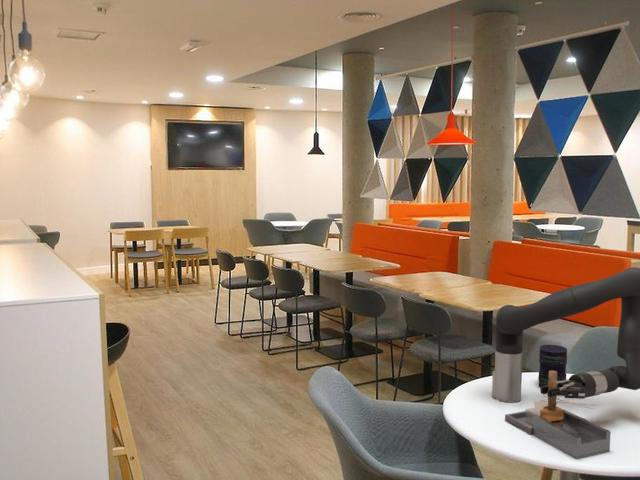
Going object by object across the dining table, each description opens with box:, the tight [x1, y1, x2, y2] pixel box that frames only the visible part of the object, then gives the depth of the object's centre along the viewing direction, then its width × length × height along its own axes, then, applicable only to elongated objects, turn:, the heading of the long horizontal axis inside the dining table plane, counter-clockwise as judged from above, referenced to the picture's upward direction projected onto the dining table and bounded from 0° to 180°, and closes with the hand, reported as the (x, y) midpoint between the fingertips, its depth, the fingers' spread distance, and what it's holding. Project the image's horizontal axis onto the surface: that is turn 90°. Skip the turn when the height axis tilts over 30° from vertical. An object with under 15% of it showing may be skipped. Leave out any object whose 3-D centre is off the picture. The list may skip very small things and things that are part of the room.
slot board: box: [532, 409, 612, 460], centre depth 187 cm, size 18×12×6 cm
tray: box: [504, 410, 533, 435], centre depth 201 cm, size 12×14×2 cm
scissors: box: [533, 394, 593, 410], centre depth 219 cm, size 11×1×20 cm
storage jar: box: [537, 344, 568, 389], centre depth 234 cm, size 10×10×15 cm
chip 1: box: [525, 407, 534, 425], centre depth 201 cm, size 4×4×4 cm
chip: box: [533, 401, 548, 416], centre depth 197 cm, size 4×4×4 cm
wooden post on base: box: [540, 371, 565, 422], centre depth 193 cm, size 3×6×15 cm, turn 112°
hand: (544, 392), depth 192 cm, fingers closed on wooden post on base, 2 cm apart
